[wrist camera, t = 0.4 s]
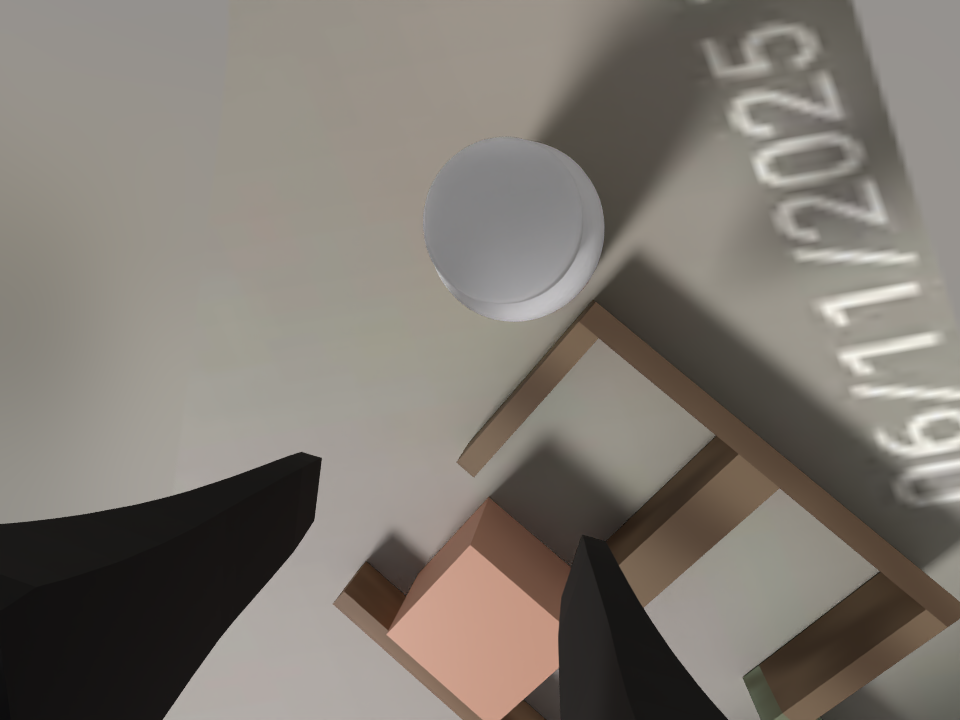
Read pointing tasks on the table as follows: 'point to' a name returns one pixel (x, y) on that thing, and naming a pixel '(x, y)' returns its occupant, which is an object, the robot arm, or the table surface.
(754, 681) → the frame
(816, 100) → the table surface
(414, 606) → the terracotta block
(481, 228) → the supplement bottle
